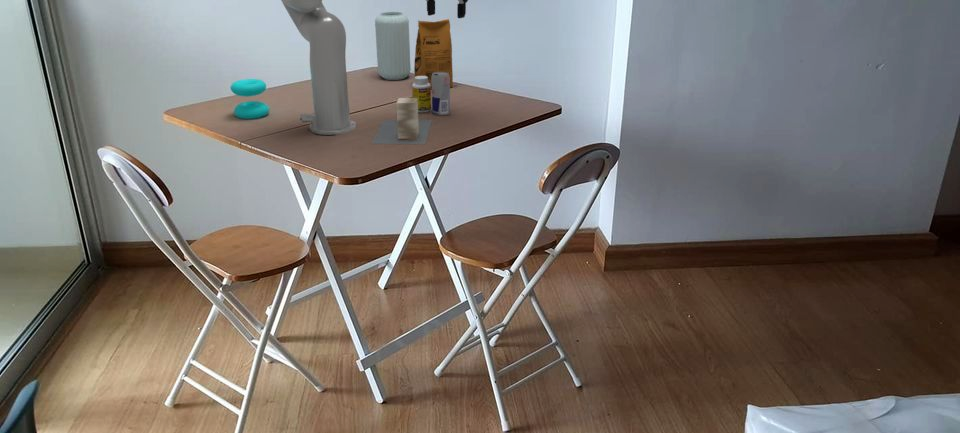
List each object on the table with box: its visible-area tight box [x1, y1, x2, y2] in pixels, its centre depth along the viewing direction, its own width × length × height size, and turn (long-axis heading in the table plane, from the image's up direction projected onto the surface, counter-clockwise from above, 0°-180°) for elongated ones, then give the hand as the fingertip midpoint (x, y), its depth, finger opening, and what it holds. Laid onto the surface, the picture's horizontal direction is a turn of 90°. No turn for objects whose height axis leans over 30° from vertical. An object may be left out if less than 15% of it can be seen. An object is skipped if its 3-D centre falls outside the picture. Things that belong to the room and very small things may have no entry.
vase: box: [374, 11, 411, 81], centre depth 257 cm, size 12×12×22 cm
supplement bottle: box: [411, 76, 432, 114], centre depth 221 cm, size 6×6×10 cm
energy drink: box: [431, 72, 451, 117], centre depth 217 cm, size 5×5×12 cm
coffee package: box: [413, 18, 454, 89], centre depth 245 cm, size 10×12×22 cm
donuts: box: [230, 78, 270, 120], centre depth 216 cm, size 10×10×10 cm
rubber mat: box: [371, 119, 433, 145], centre depth 203 cm, size 14×22×1 cm, turn 178°
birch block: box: [395, 97, 419, 140], centre depth 196 cm, size 5×5×10 cm
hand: (446, 16), depth 209 cm, fingers open, 9 cm apart
